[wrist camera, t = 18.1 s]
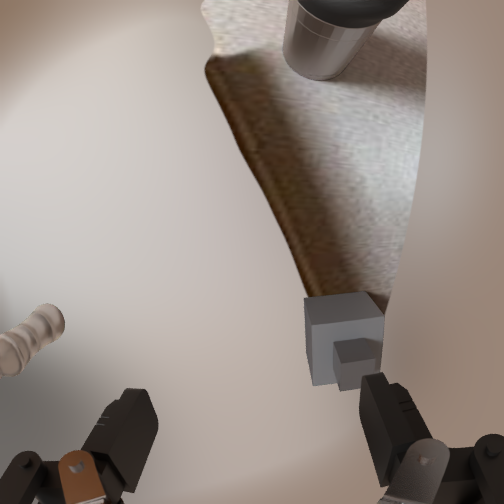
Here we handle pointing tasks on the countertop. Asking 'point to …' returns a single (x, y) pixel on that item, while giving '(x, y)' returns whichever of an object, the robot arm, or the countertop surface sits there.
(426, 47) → the countertop surface
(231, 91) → the countertop surface
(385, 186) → the countertop surface
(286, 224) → the countertop surface
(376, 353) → the stepped gray cube pair
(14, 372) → the plastic bottle
